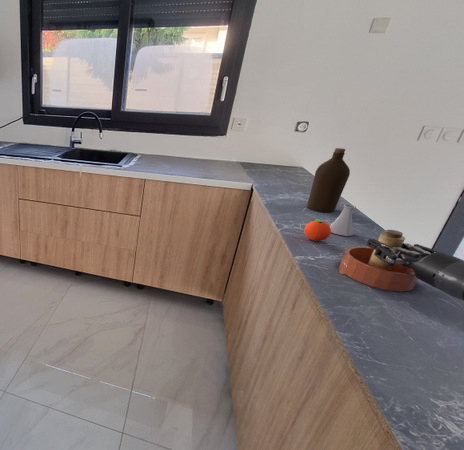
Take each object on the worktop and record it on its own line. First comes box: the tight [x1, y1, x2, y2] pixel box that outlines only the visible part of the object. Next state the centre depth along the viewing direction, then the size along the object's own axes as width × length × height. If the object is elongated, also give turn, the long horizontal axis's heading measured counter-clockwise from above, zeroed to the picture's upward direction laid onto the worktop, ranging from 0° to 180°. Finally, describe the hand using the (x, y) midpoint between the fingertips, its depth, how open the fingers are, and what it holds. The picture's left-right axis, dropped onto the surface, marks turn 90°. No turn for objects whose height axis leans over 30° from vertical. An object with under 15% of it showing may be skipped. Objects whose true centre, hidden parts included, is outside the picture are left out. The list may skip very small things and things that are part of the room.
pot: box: [338, 245, 419, 292], centre depth 83 cm, size 15×15×6 cm
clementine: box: [303, 219, 332, 242], centre depth 104 cm, size 8×7×7 cm
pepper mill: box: [368, 229, 406, 270], centre depth 80 cm, size 4×4×10 cm
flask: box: [329, 203, 357, 237], centre depth 108 cm, size 7×7×10 cm
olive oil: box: [306, 147, 351, 213], centre depth 126 cm, size 11×11×25 cm
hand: (378, 241), depth 82 cm, fingers closed on pepper mill, 4 cm apart
